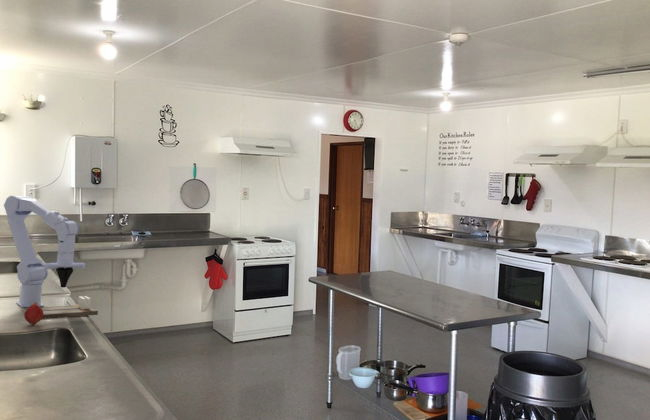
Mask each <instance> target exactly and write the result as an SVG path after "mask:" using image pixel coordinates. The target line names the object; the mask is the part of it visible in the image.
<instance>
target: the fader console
mask: <svg viewBox="0 0 650 420" xmlns="http://www.w3.org/2000/svg"><path fill="white" fill-rule="evenodd" d="M40 307H41V309H42V310H43V318H42V319H41V320H44V319H57V318H58V317H60V318H70V317H71V318H72V317H85V316H87V317H88V316H97V315H99V310H97V309H96V308H94V306H91V305H90V309H81V308H79V307H78V304H75V305H74V304H73V305H58V306H57V305H56V306H55V305H54V306H40ZM58 319H59V318H58Z"/></svg>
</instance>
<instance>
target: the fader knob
mask: <svg viewBox="0 0 650 420" xmlns="http://www.w3.org/2000/svg"><path fill="white" fill-rule="evenodd" d="M91 299H92V298H91V297H89V296H87V295H80V296H78V300H77V302H78V303H77V305H78V307H79V308H81V309H90V306H91Z"/></svg>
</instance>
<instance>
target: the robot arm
mask: <svg viewBox="0 0 650 420" xmlns="http://www.w3.org/2000/svg"><path fill="white" fill-rule="evenodd" d="M3 207H4V209H5V213H6V217H7V223H8V226H9V229H10V233H11V236H12V238H13V242H14V244H15V247H16V251H17V253H18V254H17V255H18V257H19V259H20V262H19V264H17V266H16V270H17V279H18V281H19V282H20V287H19V288H20V289H19V299H18V301H16V304H17V305H18V306H20V307H21V308H28V307H30V306H31V305H32V304H34V303H35V302H37V305H38V306H39V307H45V305H44V303H42V291H43V283H44V282H45V280H46V279H47V277H48V274H49V273H48V271H49V270H50V269H51V270H52V269H55V271H56V273H57V276H58V280H59V284H60V288H66V287H67V284H68V281H69V279H70V277H71V276H72V274H73V272H74V269H85V268H86V263H85V262H74V255H75V245H76V244H75V243H76V236H77V235H78V233H79V232H80V225H79V223H78V222H77V221H75V220H69V218H68V217H64V216H63V215H61V214H60V211H58V210H56V211H54V210H52V211H50V210H49V209H48V208H46V207H45V206H44V205H42V204H41V203H40V202H39V201H38V199H37V198H34V197H33V196H31V195H27V196H25V195H9V196H8V197H7V198H6V199H5V202H4V203H3ZM32 213H34V214H35V215H37V216H39V217H41V218H42V219H44V220H43V222H44V223H45V224H47V225H48V226H50V227H51V228H52V229H53V230H55V233H56V235H57V239H58V244H57V257H56V258H57V259H56V262H46V263H44V262H43V260H41V259H39V257H37V256H36V253H35V250H34V247H33V245H32V241H31V239H30V235H29V233H28V229H27V227H26V224H25V220H26V219H27V218H28V217H29V216H30V215H31V214H32Z"/></svg>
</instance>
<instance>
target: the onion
mask: <svg viewBox="0 0 650 420" xmlns="http://www.w3.org/2000/svg"><path fill="white" fill-rule="evenodd" d="M41 307H42V306H40V307H39V306H38V305H37V302H35V303H34V304H32V305H31V306H30V307H27V308H26V310H25V312H24V314H23V315H24V319H25V321H26V322H27V323H29V324H30V325H32V326H35V325H37V324H38V323H39V322H40V321H41V320H43V319H42V318H43V310H42V309H41Z"/></svg>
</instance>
